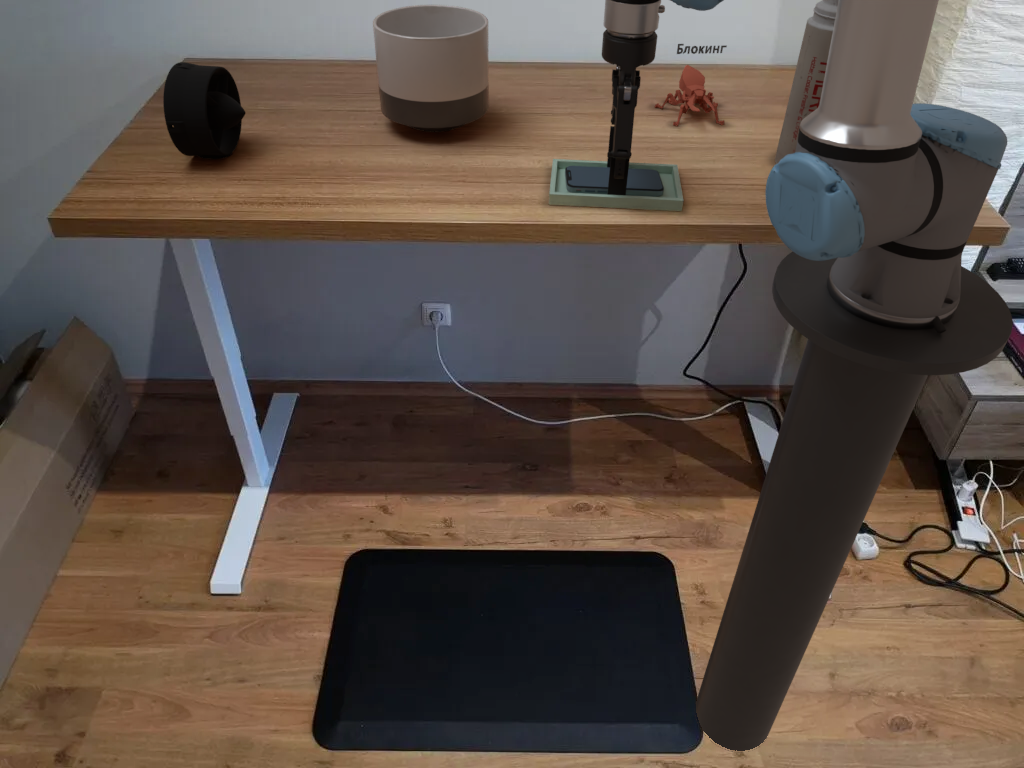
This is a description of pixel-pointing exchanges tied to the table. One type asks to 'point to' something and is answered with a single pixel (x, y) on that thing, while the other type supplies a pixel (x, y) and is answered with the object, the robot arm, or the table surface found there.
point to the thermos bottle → (808, 75)
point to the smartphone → (598, 179)
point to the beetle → (693, 88)
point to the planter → (432, 66)
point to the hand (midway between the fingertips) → (615, 180)
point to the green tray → (667, 201)
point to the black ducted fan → (202, 110)
